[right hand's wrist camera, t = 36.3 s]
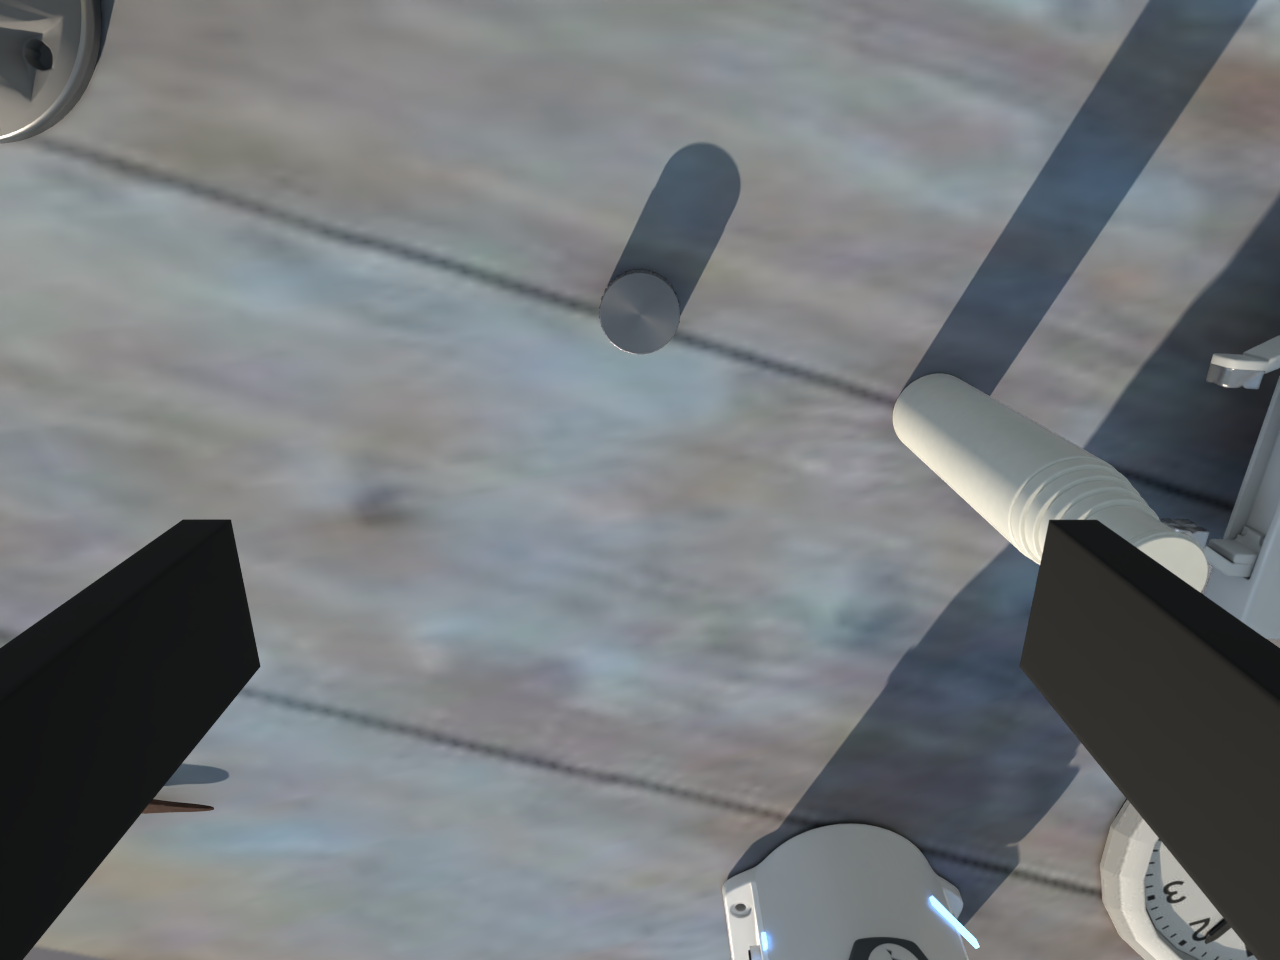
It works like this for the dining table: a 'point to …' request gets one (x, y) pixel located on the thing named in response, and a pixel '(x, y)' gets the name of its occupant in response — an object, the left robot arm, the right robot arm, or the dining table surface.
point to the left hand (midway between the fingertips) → (1189, 456)
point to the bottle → (1030, 474)
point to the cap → (639, 312)
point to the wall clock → (1160, 899)
